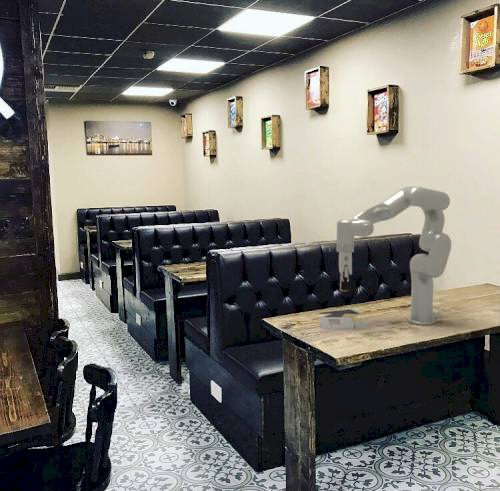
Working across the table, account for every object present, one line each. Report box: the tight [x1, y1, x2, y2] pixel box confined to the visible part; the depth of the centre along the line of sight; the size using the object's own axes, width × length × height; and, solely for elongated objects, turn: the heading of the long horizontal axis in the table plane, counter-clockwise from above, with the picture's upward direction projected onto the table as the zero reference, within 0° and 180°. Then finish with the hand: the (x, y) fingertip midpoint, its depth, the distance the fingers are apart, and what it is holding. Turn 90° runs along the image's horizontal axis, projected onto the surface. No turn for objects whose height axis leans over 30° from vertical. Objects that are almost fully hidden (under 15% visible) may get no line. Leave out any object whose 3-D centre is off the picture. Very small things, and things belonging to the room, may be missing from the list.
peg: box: [339, 273, 350, 292], centre depth 223 cm, size 4×4×7 cm
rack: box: [319, 316, 370, 330], centre depth 226 cm, size 21×12×4 cm, turn 85°
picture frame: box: [313, 308, 364, 317], centre depth 246 cm, size 16×3×21 cm
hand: (344, 288), depth 224 cm, fingers closed on peg, 3 cm apart
